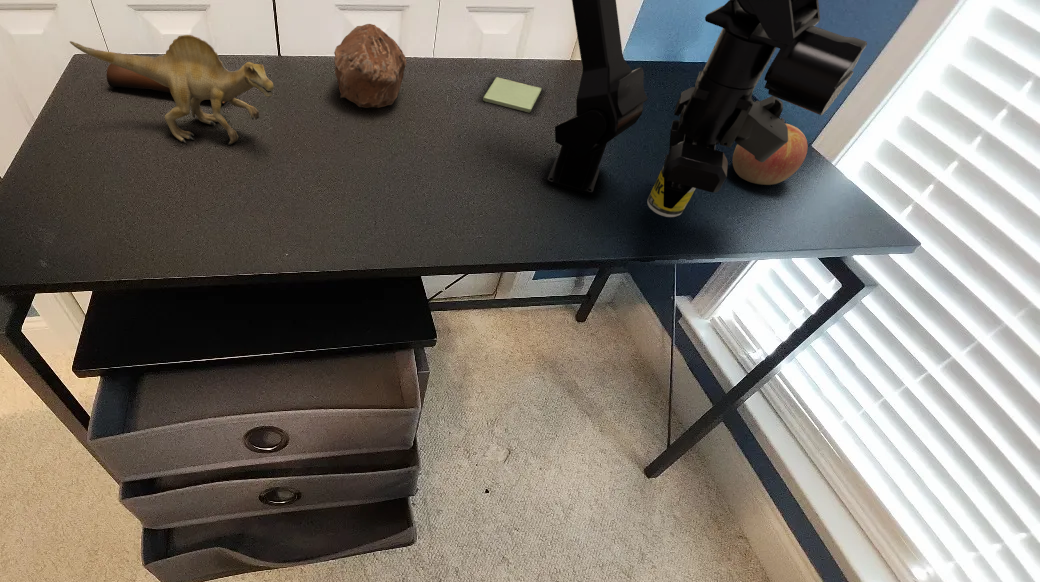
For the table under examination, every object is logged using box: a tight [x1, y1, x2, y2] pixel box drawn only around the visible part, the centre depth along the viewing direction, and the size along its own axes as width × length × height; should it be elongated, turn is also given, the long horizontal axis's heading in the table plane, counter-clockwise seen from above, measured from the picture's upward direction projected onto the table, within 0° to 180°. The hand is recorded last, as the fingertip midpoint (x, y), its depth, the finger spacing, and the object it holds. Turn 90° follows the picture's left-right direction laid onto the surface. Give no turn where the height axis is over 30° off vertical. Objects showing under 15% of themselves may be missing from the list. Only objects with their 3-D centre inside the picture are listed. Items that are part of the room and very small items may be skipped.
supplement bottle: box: [646, 142, 697, 218], centre depth 75 cm, size 5×5×8 cm
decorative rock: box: [333, 23, 407, 109], centre depth 92 cm, size 13×11×10 cm
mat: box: [482, 76, 543, 114], centre depth 99 cm, size 8×8×1 cm
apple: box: [732, 123, 809, 186], centre depth 86 cm, size 9×9×8 cm
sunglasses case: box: [106, 63, 226, 105], centre depth 92 cm, size 18×7×7 cm
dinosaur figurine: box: [69, 34, 275, 145], centre depth 82 cm, size 8×26×13 cm, turn 81°
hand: (669, 196), depth 77 cm, fingers closed on supplement bottle, 5 cm apart
